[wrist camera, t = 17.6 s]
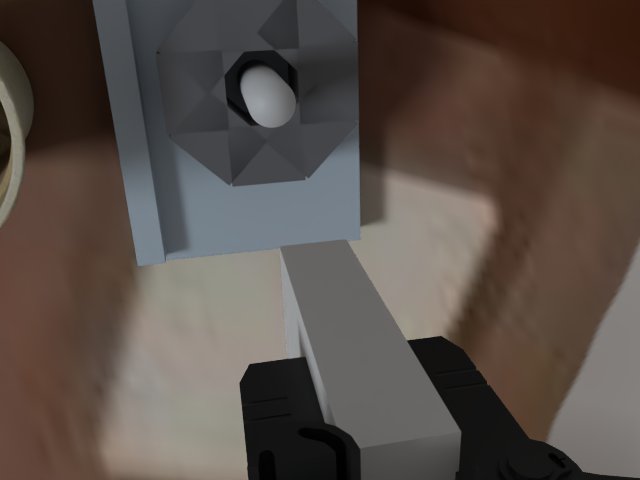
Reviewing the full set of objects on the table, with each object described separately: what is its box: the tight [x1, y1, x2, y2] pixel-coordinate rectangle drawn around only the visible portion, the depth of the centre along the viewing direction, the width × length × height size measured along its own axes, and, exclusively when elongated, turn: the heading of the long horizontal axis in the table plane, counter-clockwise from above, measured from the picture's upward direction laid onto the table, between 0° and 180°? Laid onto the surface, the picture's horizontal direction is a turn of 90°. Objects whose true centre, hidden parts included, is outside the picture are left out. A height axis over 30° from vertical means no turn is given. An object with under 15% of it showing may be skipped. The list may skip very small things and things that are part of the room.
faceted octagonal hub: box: [156, 0, 359, 187], centre depth 25 cm, size 8×8×3 cm
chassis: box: [93, 0, 361, 266], centre depth 22 cm, size 25×16×8 cm, turn 92°
